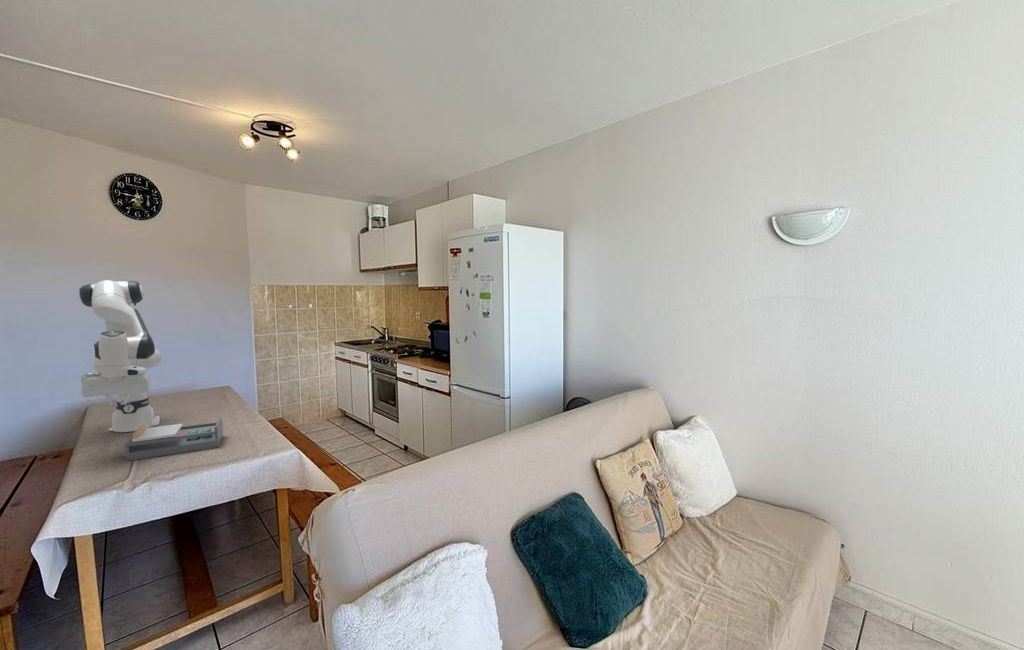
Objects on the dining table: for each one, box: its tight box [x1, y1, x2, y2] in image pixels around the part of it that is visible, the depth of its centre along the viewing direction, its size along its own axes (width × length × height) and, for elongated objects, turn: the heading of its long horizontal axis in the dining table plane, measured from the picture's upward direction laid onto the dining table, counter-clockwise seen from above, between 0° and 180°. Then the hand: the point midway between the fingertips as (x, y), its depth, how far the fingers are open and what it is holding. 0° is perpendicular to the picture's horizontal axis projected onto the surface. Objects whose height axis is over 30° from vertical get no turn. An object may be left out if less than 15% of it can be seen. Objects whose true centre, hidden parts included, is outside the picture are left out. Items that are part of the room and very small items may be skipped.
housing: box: [124, 417, 224, 462], centre depth 176 cm, size 15×30×9 cm, turn 119°
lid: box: [132, 423, 184, 442], centre depth 173 cm, size 15×14×3 cm
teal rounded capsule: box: [187, 428, 200, 441], centre depth 179 cm, size 4×4×6 cm
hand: (118, 405), depth 166 cm, fingers closed
